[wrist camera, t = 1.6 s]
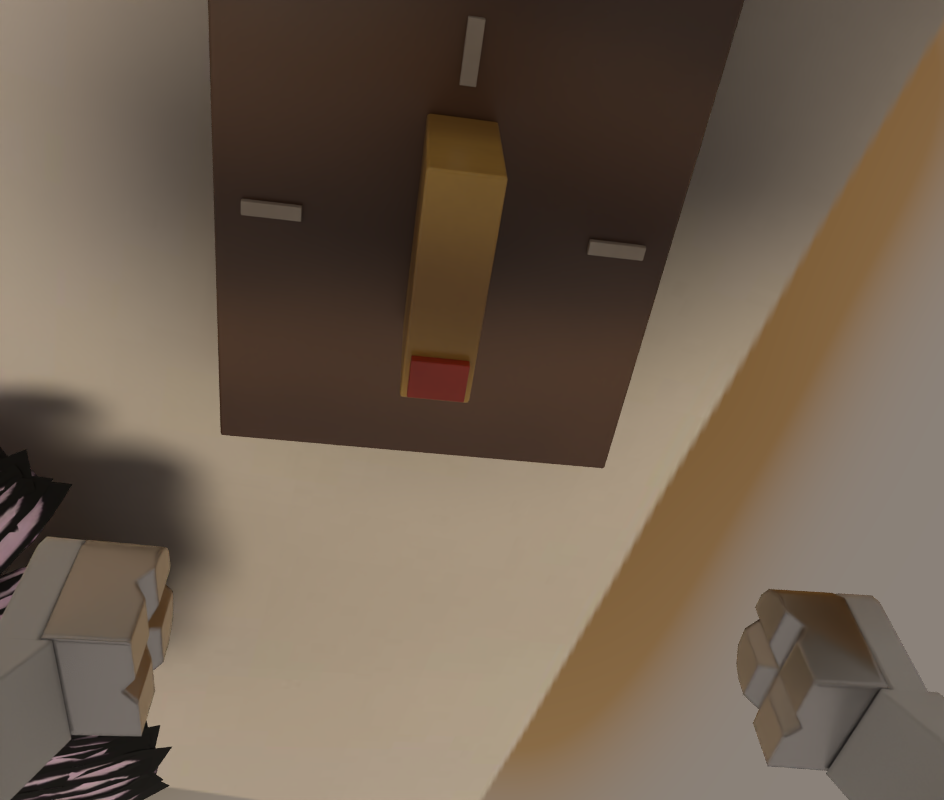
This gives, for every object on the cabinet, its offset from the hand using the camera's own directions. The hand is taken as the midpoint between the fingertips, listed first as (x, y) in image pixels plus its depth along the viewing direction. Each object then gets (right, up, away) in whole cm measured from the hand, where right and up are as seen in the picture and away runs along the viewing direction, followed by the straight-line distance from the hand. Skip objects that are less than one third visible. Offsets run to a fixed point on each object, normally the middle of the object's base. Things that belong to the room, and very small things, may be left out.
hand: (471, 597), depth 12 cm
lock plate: (-1, +9, +12) cm, 14 cm away
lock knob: (-1, +7, +9) cm, 11 cm away
